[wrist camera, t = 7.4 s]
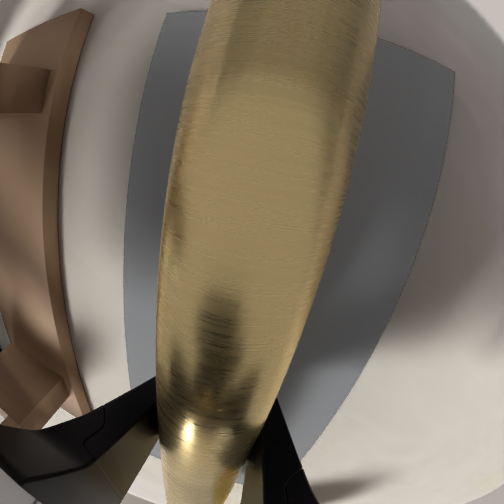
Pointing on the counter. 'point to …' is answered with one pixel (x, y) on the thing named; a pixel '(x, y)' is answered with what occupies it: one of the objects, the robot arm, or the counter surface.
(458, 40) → the counter surface
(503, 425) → the counter surface
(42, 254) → the cradle rack
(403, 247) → the slate mat
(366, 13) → the brass rail
